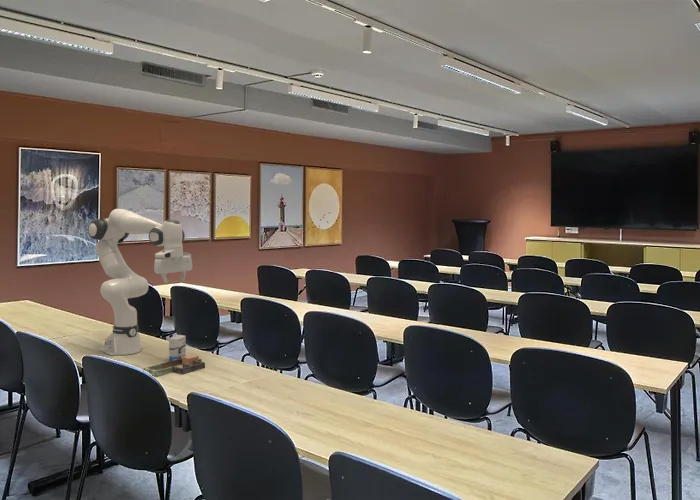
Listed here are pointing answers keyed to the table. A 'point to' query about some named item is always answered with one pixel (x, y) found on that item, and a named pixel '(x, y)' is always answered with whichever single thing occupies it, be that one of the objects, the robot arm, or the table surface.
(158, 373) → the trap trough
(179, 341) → the ink box
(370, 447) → the table surface
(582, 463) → the table surface
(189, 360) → the block
